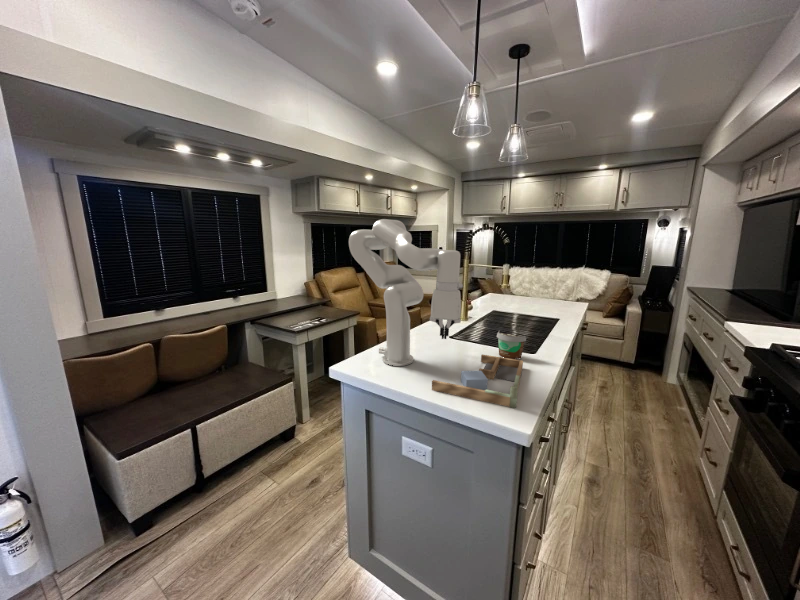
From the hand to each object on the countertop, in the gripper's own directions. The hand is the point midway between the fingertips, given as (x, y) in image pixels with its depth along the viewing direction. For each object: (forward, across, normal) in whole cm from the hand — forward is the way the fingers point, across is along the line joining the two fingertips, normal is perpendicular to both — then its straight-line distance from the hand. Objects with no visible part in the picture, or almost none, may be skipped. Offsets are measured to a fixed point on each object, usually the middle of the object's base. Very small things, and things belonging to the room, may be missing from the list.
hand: (443, 337), depth 108 cm
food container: (+14, -28, -23) cm, 39 cm away
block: (+14, -11, +6) cm, 19 cm away
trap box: (+14, -14, 0) cm, 20 cm away
